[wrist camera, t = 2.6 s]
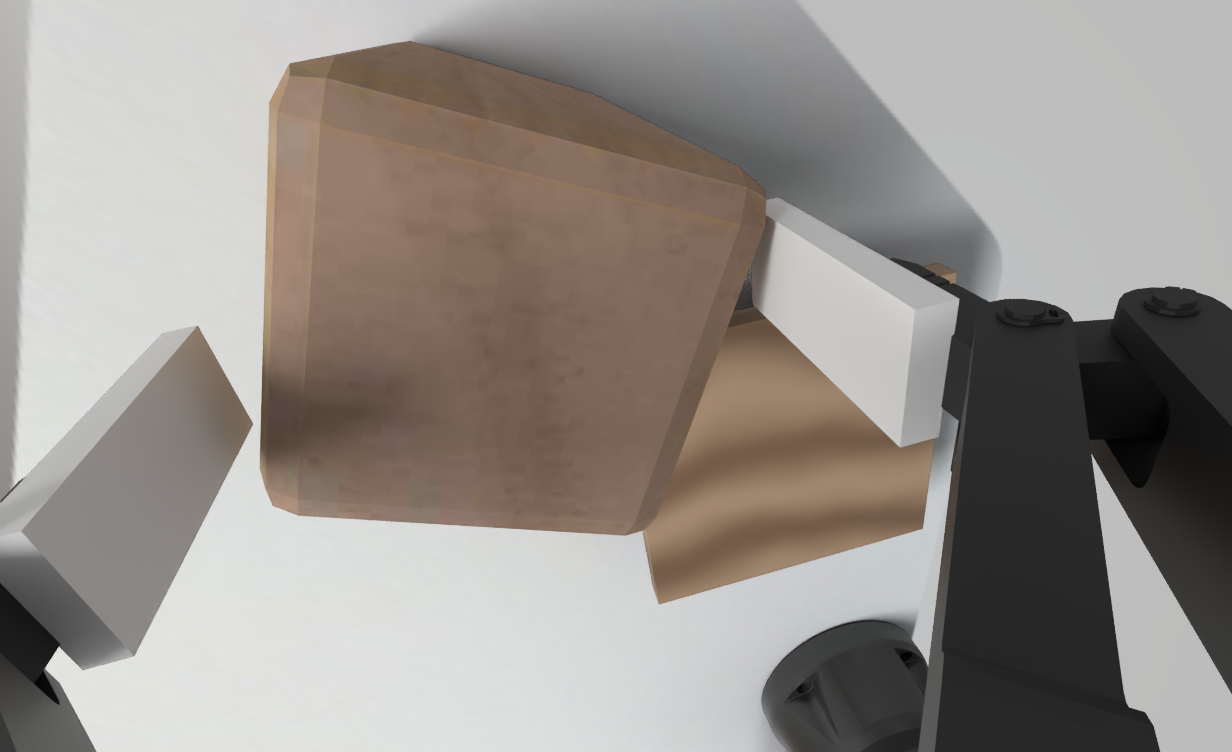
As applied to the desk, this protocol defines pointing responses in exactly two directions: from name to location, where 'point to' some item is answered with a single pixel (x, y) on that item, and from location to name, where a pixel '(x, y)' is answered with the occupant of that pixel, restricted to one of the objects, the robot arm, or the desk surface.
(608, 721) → the desk surface
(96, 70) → the desk surface
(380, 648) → the desk surface
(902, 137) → the desk surface
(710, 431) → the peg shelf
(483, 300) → the wooden block
